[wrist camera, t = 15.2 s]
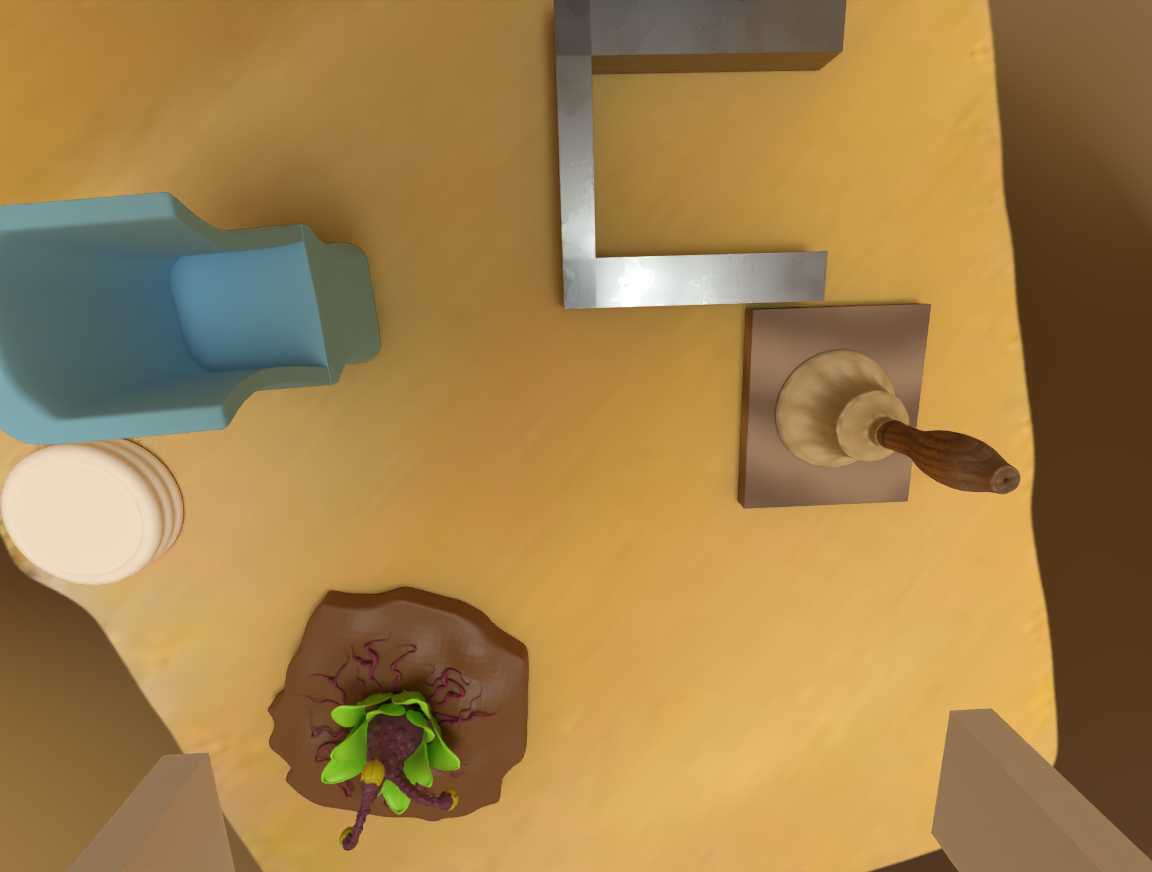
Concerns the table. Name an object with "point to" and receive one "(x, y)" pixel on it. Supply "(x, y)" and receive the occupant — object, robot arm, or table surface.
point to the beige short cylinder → (91, 510)
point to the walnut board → (772, 358)
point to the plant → (401, 707)
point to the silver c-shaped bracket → (676, 45)
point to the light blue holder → (165, 317)
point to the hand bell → (875, 426)
